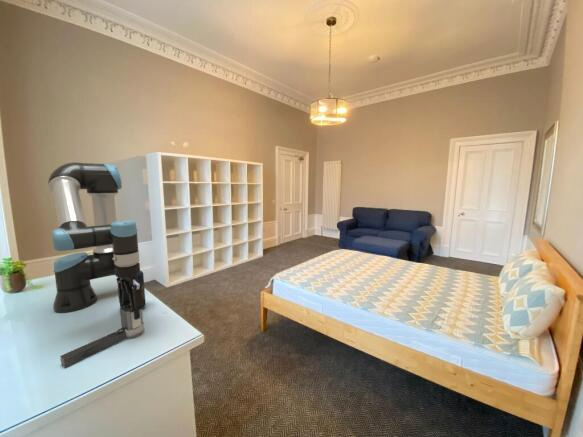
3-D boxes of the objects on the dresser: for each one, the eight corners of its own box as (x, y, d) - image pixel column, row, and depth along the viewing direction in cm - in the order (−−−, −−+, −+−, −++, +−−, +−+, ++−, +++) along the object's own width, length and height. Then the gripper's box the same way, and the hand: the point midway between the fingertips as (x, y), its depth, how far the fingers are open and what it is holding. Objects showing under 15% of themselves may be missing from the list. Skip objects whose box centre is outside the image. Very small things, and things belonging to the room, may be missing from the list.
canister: (118, 317, 103) (115, 276, 101) (122, 307, 111) (118, 269, 109) (145, 311, 107) (142, 272, 105) (146, 302, 116) (143, 265, 113)
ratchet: (59, 361, 77) (56, 340, 76) (138, 325, 97) (136, 308, 96) (67, 370, 73) (64, 348, 72) (147, 331, 93) (146, 313, 92)
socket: (121, 326, 90) (119, 307, 89) (136, 319, 95) (134, 302, 94) (128, 330, 88) (126, 311, 87) (143, 323, 92) (141, 305, 91)
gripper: (103, 262, 90) (109, 321, 93) (128, 271, 80) (134, 337, 83) (126, 257, 96) (131, 313, 99) (151, 265, 87) (156, 326, 90)
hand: (132, 324), depth 91 cm, fingers closed on socket, 5 cm apart
